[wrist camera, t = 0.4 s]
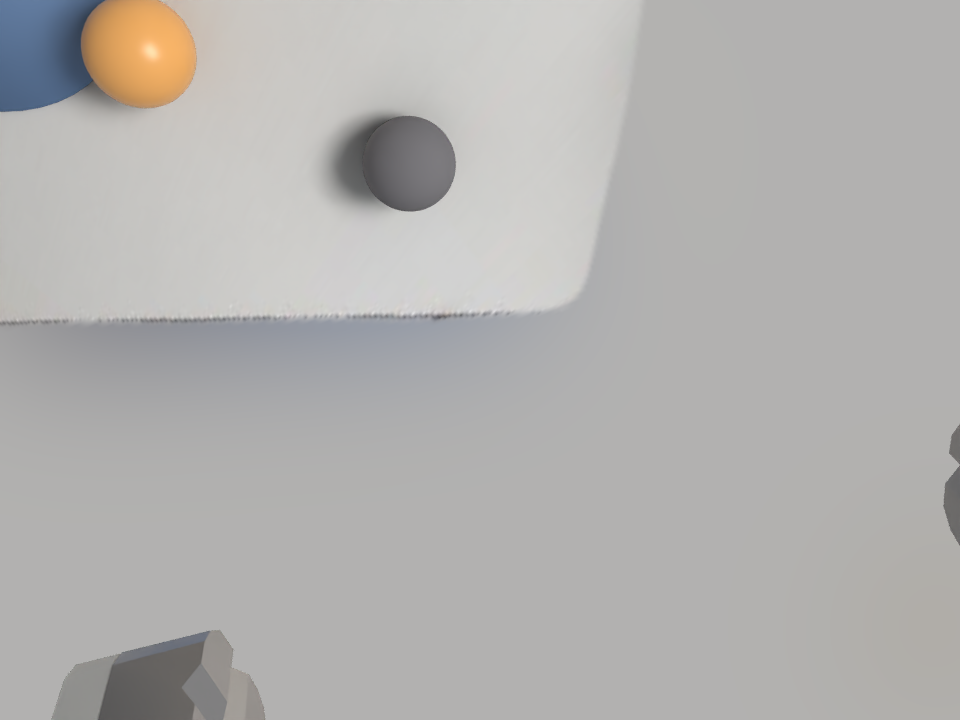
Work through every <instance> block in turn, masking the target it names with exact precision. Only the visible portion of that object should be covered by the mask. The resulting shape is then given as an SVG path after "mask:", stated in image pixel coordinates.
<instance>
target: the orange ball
mask: <svg viewBox="0 0 960 720" xmlns="http://www.w3.org/2000/svg"><path fill="white" fill-rule="evenodd" d="M81 52H82V57H83V61H84V64H85V66H86V69H87V71H88V72H89V74H90V76H91V78H92V79H93V80H94V82H95V83H96V84H97V85H98V87H99V88H100V89H101V90H102V91H104V92H105V93H106V94H107V95H109V96H110V97H111V98H113V99H115V100H117V101H118V102H121V103H123V104H125V105H129V106H132V107H137V108H155V107H160V106H163V105H166V104H168V103H171V102H173V101H174V100H176V99H177V98H178V97H179V96H180V95H182V94H183V93H184V92H185V90H186V89H187V88H188V86H189V85H190V83H191V81H192V79H193V76H194V73H195V69H196V60H197V58H196V48H195V43H194V40H193V37H192V35H191V33H190V31H189V29H188V27H187V25H186V24H185V22H184V21H183V20H182V19H181V17H180V16H179V15H178V14H177V13H176V12H175V11H174V10H172V9H171V8H170V7H169V6H167V5H165V4H164V3H162V2H160V1H158V0H105V1H104V2H102V3H101V4H99V5H98V6H97V7H96V8H95V9H94V10H93V11H92V12H91V14H90V15H89V16H88V18H87V20H86V22H85V24H84V27H83V31H82V35H81Z"/></svg>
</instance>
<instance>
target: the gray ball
mask: <svg viewBox="0 0 960 720" xmlns="http://www.w3.org/2000/svg"><path fill="white" fill-rule="evenodd" d="M455 168H456V161H455V154H454V151H453V147H452V145H451V143H450V141H449V139H448V138H447V136H446V135H445V134H444V132H443V131H442V130H441V129H440V128H438V127H437V126H436V125H435V124H433V123H432V122H430V121H428V120H425V119H422V118H419V117H414V116H402V117H397V118H394V119H391V120H389V121H387V122H385V123H384V124H382V125H381V126H380V127H378V128H377V129H376V130H375V131H374V132H373V134H372V135H371V137H370V138H369V140H368V142H367V144H366V147H365V149H364V154H363V172H364V176H365V179H366V182H367V184H368V186H369V188H370V190H371V191H372V192H373V194H374V195H375V196H376V197H377V198H378V199H379V200H380V201H382V202H383V203H384V204H386V205H387V206H389V207H391V208H394V209H397V210H401V211H419V210H423V209H426V208H428V207H431V206H432V205H434V204H436V203H437V202H438V201H439V200H441V199H442V198H443V197H444V195H445V194H446V193H447V192H448V190H449V188H450V186H451V184H452V182H453V179H454V175H455Z"/></svg>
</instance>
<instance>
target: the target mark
mask: <svg viewBox="0 0 960 720" xmlns="http://www.w3.org/2000/svg"><path fill="white" fill-rule="evenodd" d="M104 1H105V0H0V111H2V112H3V111H23V110H29V109H35V108H40V107H44V106H47V105H50V104H53V103H57V102H59V101H61V100H63V99H65V98H67V97H70V96H72V95H74V94H75V93H77V92H78V91H80V90H81V89H83V88H84V87H86V86H87V85H88V84H89V83H91V82H92V81H93V79H92V78H91V76H90V74H89V72H88V71H87V69H86V66H85V64H84V61H83V57H82V52H81V35H82V31H83V27H84V24H85V22H86V20H87V18H88V16H89V15H90V14H91V12H92V11H93V10H94V9H95V8H96V7H97V6H98V5H99V4H101V3H102V2H104Z"/></svg>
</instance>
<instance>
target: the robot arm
mask: <svg viewBox="0 0 960 720" xmlns="http://www.w3.org/2000/svg"><path fill="white" fill-rule="evenodd" d="M949 453H950V455H952V457H953V458H954V459H955V460H956V461H957V462H958V463H959V464H960V425H959V426H958V427H957V429H956V430H955V432H954V433H953V434H952V437H951V444H950V451H949ZM944 509H945V513H946V516H947V519H948V523H949V526H950V529H951V531H952V533H953V535H954V536H955V538H956V540H957V542H958V543H959V545H960V466H959V467H958V468H957V470H956V471H955V472H954V474H953V475H952V476H951V477H950V478H949V480H948V481H947V482H946V484H945V494H944ZM232 656H233V648H232V647H231V645H230V644H229V642H228V641H227V639H226V638H225V637H224V635H223V634H222V632H221V631H220V630H217V631H216V630H215V631H207V632H203V633H199V634H195V635H191V636H187V637H183V638H179V639H175V640H171V641H167V642H162V643H159V644H154V645H151V646H146V647H142V648H138V649H134V650H130V651H126V652H122V653H121V654H117V655H113V656H109V657H105V658H101V659H97V660H93V661H89V662H85V663H81V664H77V665H75V667H74V668H73V669H72V670H71V671H70V673H69V674H68V675H67V676H66V678H65V679H64V682H63V685H62V688H61V691H60V694H59V698H58V701H57V704H56V707H55V710H54V713H53V716H52V720H265V714H264V707H263V704H262V701H261V698H260V695H259V692H258V690H257V688H256V686H255V684H254V682H253V681H252V679H251V677H250V676H249V674H246V673H244V672H241V671H239V670H237V669H234V668H232V667H231V665H232Z"/></svg>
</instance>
